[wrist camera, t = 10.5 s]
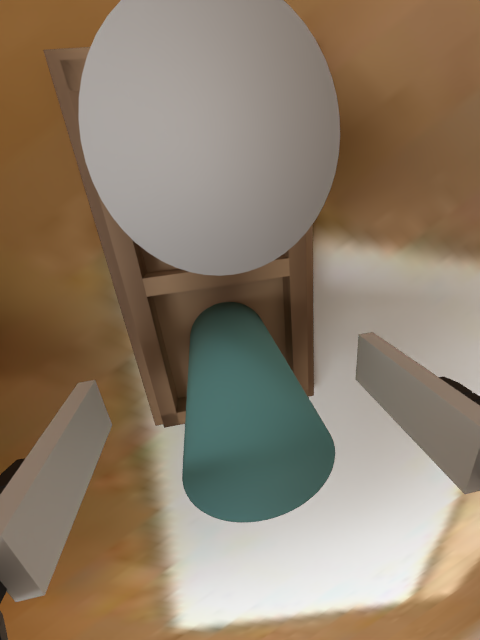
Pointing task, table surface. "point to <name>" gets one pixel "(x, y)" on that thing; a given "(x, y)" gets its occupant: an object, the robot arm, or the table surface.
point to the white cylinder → (209, 129)
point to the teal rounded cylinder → (248, 422)
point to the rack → (186, 283)
